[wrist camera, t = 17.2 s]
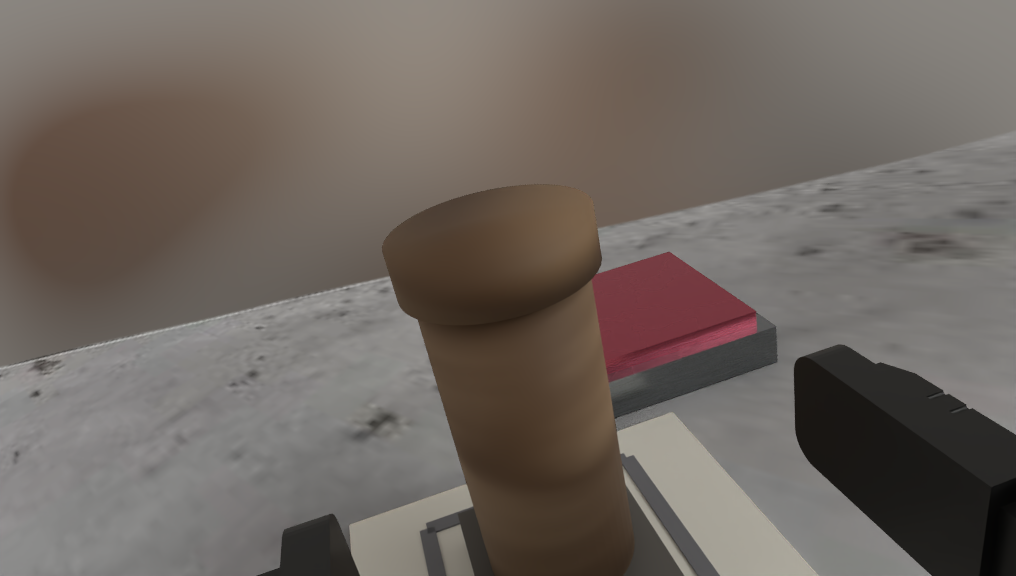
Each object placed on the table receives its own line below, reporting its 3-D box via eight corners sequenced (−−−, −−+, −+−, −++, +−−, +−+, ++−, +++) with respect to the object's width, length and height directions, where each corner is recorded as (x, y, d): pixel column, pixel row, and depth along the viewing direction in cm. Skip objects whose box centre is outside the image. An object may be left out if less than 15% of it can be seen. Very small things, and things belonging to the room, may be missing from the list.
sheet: (673, 416, 25) (672, 410, 25) (878, 648, 16) (878, 640, 16) (351, 529, 23) (348, 523, 23) (376, 865, 14) (372, 858, 14)
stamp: (614, 489, 22) (558, 167, 17) (692, 614, 17) (644, 224, 13) (466, 542, 21) (365, 221, 16) (506, 687, 16) (383, 301, 12)
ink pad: (678, 285, 33) (673, 245, 32) (777, 361, 26) (775, 312, 25) (526, 334, 32) (517, 293, 31) (587, 427, 25) (577, 378, 24)
